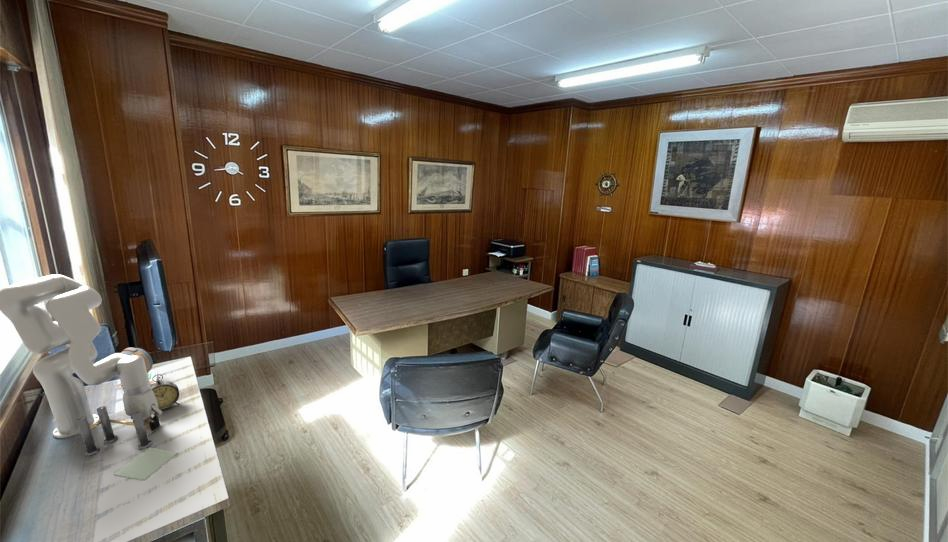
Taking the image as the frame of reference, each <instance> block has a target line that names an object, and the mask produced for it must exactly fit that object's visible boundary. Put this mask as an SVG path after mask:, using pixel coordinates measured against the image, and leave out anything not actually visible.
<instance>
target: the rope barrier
mask: <svg viewBox="0 0 948 542" xmlns="http://www.w3.org/2000/svg"><path fill="white" fill-rule="evenodd" d="M96 412H97V415H98V416H99V419H100V421H99V422H98V423H96V424H94V425H93V426H91V427H90V426H89V423H88V420H87V417H82V418H79V419H78V420H77V423H78V426H79V429H80V432H81V434H80V435H81V438H82V440H83V441H82V442H83V444H84V447H85V450H86V451H85V452H84V453H83V455H84V457H92V456H94V455H96V454H98V453H99V452H100V451H101V447H100V446H96V442H95V439H94V436H93V432H92V430H93V429H94V428H96V427H98V426H100V425H101V429H102V432H103V434H104V439H103V441H102V443H103V444H104V445H109V444H112V443H114V442H116V441H117V440H119V435H117V434H115V432H114V429H113V426H112V423H113V424H118V425H119V424H120V425H126V426H133V427H134V426H135V427H134V429H135V428H136V430H135V432H136V431H137V433H136V435H137V438H138V440H139V444H138V445H137V450H139V451H140V450H147V449H148V448H151V446H152V445H153V441H152V440H149V437H148V434H147V432H146V429H145V425H144V421H143V418H142V414H141V411H137V412H134V413H133V414H132V417H133V420H134V423H133V420H132V422H131V421H127V420H120V419H119V420H118V419H111V418H110V416H109V413H108V409H107V406H105V405H104V406H100V407H98V408H96Z"/></svg>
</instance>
